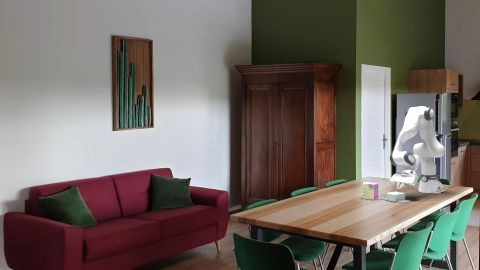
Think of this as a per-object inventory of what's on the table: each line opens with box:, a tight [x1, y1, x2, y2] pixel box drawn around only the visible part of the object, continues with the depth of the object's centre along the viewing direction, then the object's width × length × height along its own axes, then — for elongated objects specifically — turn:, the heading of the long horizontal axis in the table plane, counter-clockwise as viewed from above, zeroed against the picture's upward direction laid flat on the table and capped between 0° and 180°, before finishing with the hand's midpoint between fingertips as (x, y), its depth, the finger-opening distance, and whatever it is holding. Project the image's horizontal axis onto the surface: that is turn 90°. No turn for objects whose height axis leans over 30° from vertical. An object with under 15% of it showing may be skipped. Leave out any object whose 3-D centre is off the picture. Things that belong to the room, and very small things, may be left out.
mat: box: [380, 197, 412, 204], centre depth 380 cm, size 10×20×1 cm, turn 37°
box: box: [361, 181, 379, 201], centre depth 387 cm, size 10×6×12 cm, turn 41°
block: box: [385, 191, 406, 203], centre depth 379 cm, size 5×8×12 cm
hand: (398, 188), depth 381 cm, fingers closed
